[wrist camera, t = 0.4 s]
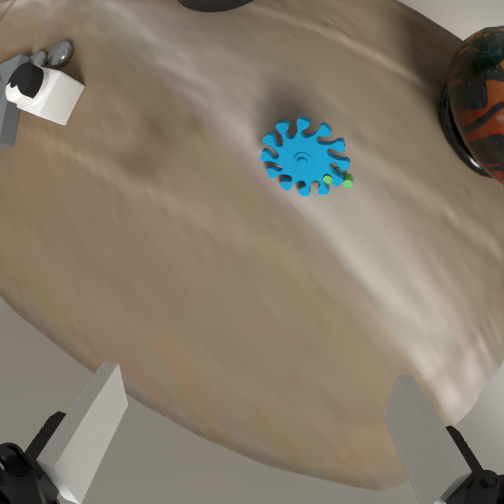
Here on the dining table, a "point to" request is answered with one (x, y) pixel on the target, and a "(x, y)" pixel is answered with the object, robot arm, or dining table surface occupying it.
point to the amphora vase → (477, 102)
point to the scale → (8, 103)
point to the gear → (307, 157)
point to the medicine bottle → (44, 92)
